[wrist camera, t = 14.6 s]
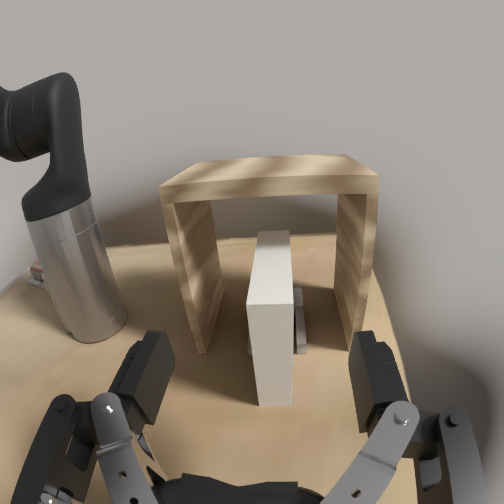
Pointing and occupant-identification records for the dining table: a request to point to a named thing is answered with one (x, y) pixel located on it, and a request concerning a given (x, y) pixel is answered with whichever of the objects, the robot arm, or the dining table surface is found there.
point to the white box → (272, 318)
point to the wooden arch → (270, 184)
